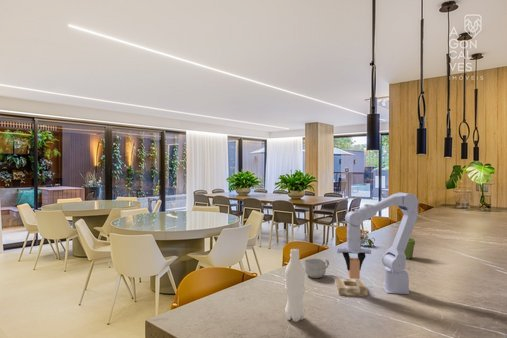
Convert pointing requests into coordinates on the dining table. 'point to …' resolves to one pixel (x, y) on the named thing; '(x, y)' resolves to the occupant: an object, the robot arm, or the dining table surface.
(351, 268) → the terracotta peg
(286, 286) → the water bottle
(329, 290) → the dining table surface
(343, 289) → the birch socket block
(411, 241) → the plant pot
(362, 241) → the passion flower
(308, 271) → the teacup
